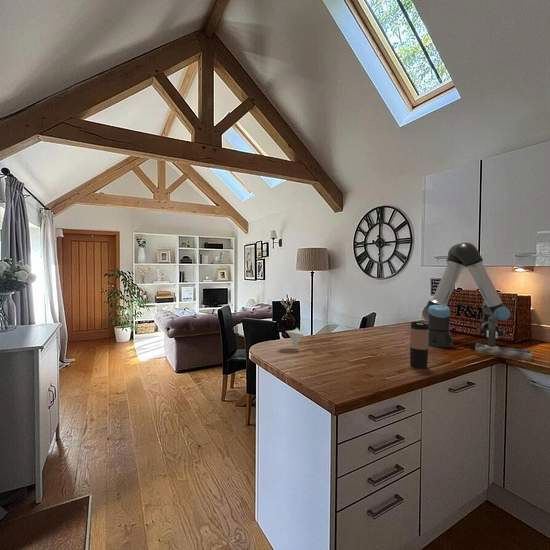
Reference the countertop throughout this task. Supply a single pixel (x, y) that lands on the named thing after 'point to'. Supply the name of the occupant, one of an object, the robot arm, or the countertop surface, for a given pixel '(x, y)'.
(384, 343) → the countertop surface
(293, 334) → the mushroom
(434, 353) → the countertop surface
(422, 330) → the travel mug
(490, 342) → the slider
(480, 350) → the rail base
